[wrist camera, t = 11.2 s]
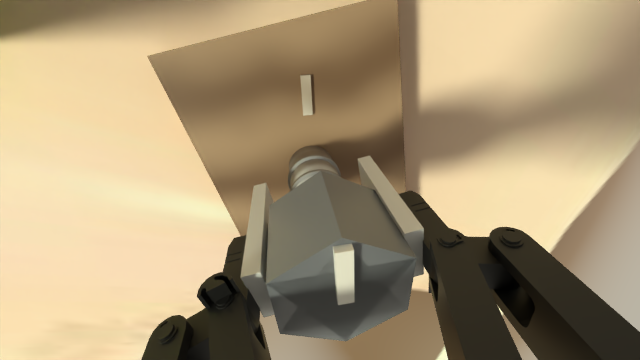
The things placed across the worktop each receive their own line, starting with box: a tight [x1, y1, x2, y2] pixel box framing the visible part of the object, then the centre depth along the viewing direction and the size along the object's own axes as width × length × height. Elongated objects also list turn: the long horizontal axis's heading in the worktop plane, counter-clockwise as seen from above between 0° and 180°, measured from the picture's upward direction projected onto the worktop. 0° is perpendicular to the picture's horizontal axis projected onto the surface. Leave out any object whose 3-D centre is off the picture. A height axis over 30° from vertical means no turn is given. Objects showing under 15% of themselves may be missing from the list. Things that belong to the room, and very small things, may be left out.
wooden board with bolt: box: [147, 0, 406, 236], centre depth 17 cm, size 18×14×8 cm
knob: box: [266, 171, 417, 341], centre depth 11 cm, size 6×5×5 cm
